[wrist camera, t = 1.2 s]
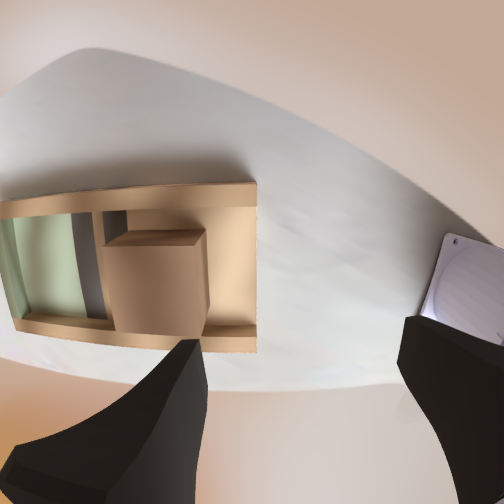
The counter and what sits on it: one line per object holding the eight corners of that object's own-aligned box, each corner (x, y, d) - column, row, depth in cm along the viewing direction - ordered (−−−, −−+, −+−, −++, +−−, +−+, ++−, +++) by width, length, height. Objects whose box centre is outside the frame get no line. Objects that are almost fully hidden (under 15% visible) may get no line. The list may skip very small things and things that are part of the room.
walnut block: (206, 229, 18) (194, 245, 15) (210, 305, 20) (200, 337, 16) (129, 230, 18) (101, 246, 15) (138, 302, 20) (116, 331, 16)
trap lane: (256, 182, 19) (256, 184, 16) (256, 333, 21) (256, 352, 19) (9, 199, 19) (-10, 204, 16) (31, 317, 21) (16, 330, 19)
